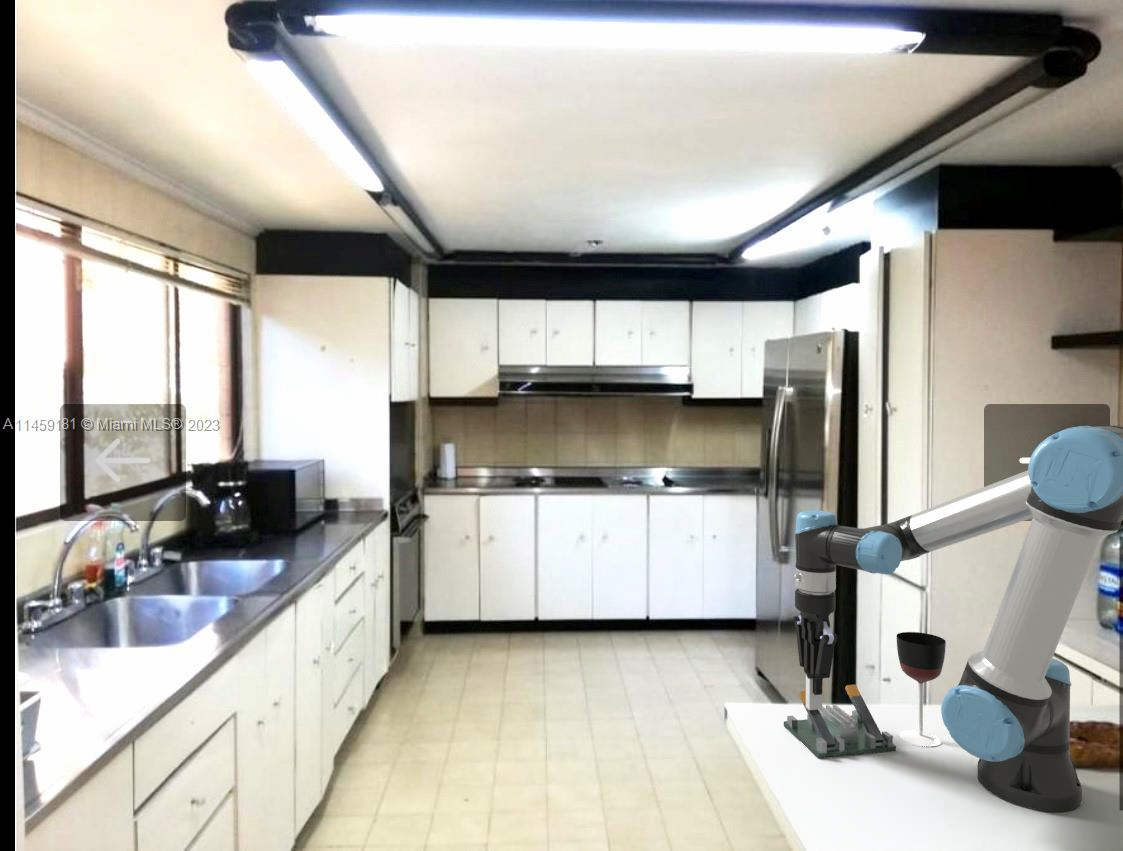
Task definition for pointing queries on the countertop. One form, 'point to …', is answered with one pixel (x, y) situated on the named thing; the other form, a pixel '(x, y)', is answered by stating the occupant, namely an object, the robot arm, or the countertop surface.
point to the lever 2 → (864, 712)
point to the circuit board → (838, 735)
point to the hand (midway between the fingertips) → (813, 707)
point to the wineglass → (920, 673)
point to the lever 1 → (818, 722)
